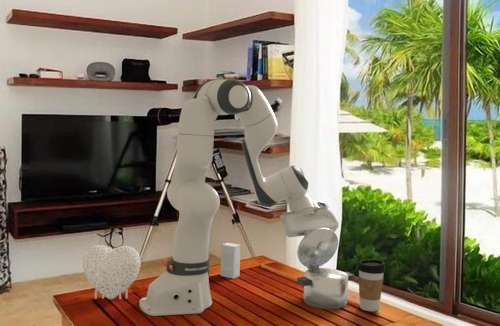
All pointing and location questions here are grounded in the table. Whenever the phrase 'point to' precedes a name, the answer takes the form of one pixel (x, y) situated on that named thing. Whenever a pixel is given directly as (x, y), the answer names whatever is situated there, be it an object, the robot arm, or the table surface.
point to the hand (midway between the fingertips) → (319, 243)
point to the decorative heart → (111, 269)
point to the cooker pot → (325, 287)
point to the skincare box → (230, 260)
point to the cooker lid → (317, 247)
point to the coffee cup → (370, 283)
